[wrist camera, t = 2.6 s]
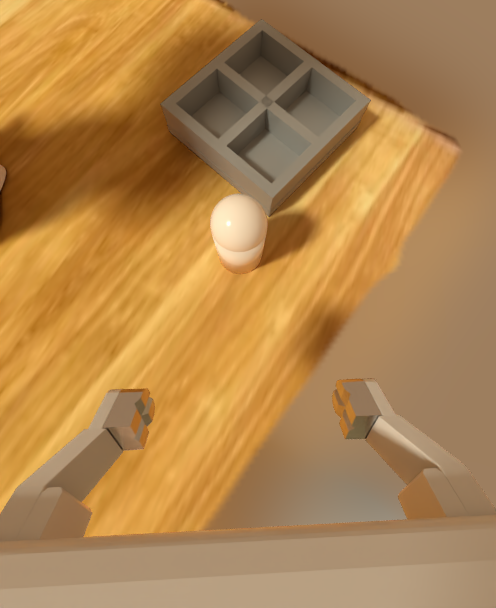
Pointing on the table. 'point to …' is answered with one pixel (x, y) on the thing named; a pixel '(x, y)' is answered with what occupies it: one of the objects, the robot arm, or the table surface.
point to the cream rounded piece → (239, 232)
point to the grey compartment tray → (264, 114)
